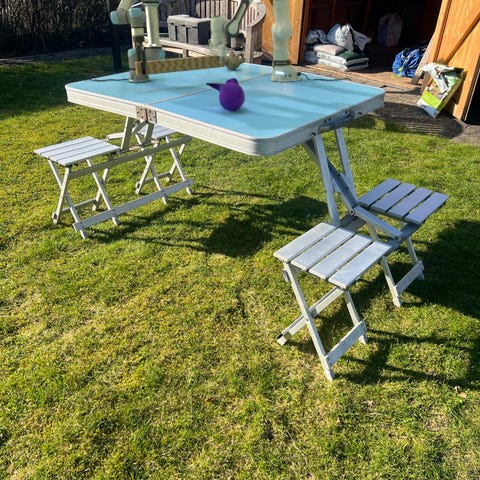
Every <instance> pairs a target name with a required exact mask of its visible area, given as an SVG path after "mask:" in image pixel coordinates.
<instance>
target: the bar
mask: <svg viewBox="0 0 480 480" xmlns="http://www.w3.org/2000/svg"><path fill="white" fill-rule="evenodd" d="M140 63H141V62H135V68H136V75H138V76H142V69H141V64H140ZM145 66H146V74H144V75H149V76H150V75H151V76H152V75H160V74H171V73H179V72H190V71H197V70H208V69H217V68H218V69H219V68H226V65H225V57H223V58H222V63H219V56H217V55H213V54H210V55H200V56H199V55H197V56H186V57H176V58H165V59H164V60H153V61H146V63H145Z"/></svg>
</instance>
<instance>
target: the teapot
mask: <svg viewBox="0 0 480 480" xmlns="http://www.w3.org/2000/svg"><path fill="white" fill-rule="evenodd" d="M239 58H240V59H239ZM244 63H245V54H244V52H242V51H240V52H239V53H237V54H236V53H235V52H234V50H230V53H229V54H228V56H226V57H225V68H226V69H227V70H228V71H235V70H237V69H239V67H240V66H241V65H243V64H244Z"/></svg>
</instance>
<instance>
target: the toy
mask: <svg viewBox="0 0 480 480" xmlns="http://www.w3.org/2000/svg"><path fill="white" fill-rule="evenodd" d="M205 84H206V86H208V87H210V88H212V89H214V90H216V91H218V92H219V93H218V101H219V104H220V106H221V107H222V108H223V109H224V110H226V111H229V112H236V111H238V110H240V109H241V108H242V107H243V105H244V103H245V101H246V94H245V90H244V89H243V87H242V86H241V85H240V84H239V81H238V79H237V78H236V77H232V78H230V79H229V78H228V79H226V81H225V83H220V82H206V83H205Z"/></svg>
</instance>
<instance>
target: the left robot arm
mask: <svg viewBox="0 0 480 480" xmlns="http://www.w3.org/2000/svg"><path fill="white" fill-rule="evenodd" d="M161 2H162V0H121V1H120V3H119V4H118V7H117V9H116V10H114V11H111V12H110V20H111V22H112V24H113V25H130V29H131V35H132V43H135V45H134V48H130V49H128V50H127V57H128V66H129V76H128V78H119V79H117V78H107V79H95V78H94V80H92V79H93V78H88V77H87V78H85V79H84V80H83V81H84V82H86V81H93V82H94V81H95V82H107V81H115V82H116V81H117V82H118V81H119V82H120V81H121V82H122V81H128V82H129V83H133V84H141V83H148V82H150V75H144V74H146V66H145V63H146V61H153V60H164V59H166V51H165V50H166V49H164V48H163V46H162V44H161V41H160V31H159V30H160V28H159V15H158V14H159V12H158V7H159V6H160V3H161ZM135 3H142V6H143V7H144V10H142V8H141V7H133V6H134V4H135ZM145 23H146V24H145ZM144 24H145V25H146V26H145V27H146V37H147V44H146V46H144V43H145V42H146V38H145V28H144ZM135 62H141V63H140V64H141V69H142V76H138V75H136V68H135Z"/></svg>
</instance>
